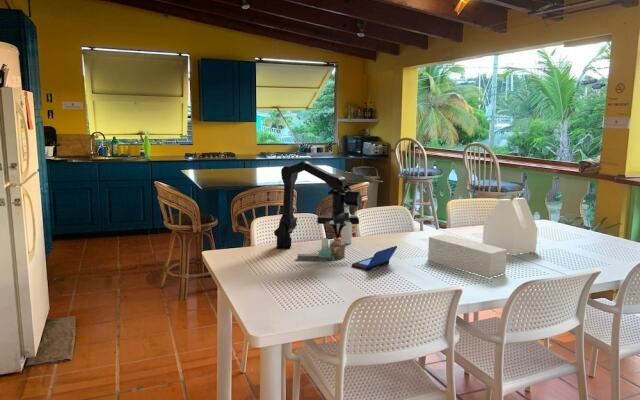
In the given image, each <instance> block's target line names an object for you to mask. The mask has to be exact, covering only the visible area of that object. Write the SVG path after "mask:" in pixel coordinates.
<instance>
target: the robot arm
mask: <svg viewBox="0 0 640 400" xmlns="http://www.w3.org/2000/svg"><path fill="white" fill-rule="evenodd" d="M301 172H307V173H308V174H310V175H312V176H313V177H316V178H317V179H320V180H322V181H324V182H325V183H326V185H327V187H329V188H330V190H329V191H328V192H327V194H328V195H331V217H327V215H317V217H316V223H317V224H319V225H325V224H326V223H329V225H330V226H331V227H332V228H333V232H334V233H335V234H334V235H335V238H339V235H340V233H341V230H342V228H343V227H344V226H346V222H351V223H352V225H359V224H360V218H359V217H358V215H351V216H349V213H345V212H344V209H345V204H346V205H347V206H349V207H359V208H360V207H361V205H362V201H363V198H362V194H361V191H360V190H356V191H355V190H352V189H351V188H350V186H349V184H348V181H347V178H345V177H344V176H342V175H338V174H334V173H330V172H329V171H326V170H325V169H323V168H321V167H319V166H317V165H315V164H314V163H311V162H310V161H308V160H303V161H300V162H298V163H296V164H288V165H285V166H283V167H281V171H280V174H281V179H282V183H283V205H282V214H281V217H280V220H279V224H278V227H277V228H276V229H275V230H274V231H273V234H274V236H275V237H276V249H277V250H279V249H281V250H286V249H287V250H290V249H291V247H292V236H291V234H293V231H294V230H295V229H296V227H297V226H298V223H297V222H298V217H295V216H294V198H295V197H294V196H295V185H296V182H297V180H298V176H299V174H300V173H301ZM337 224H339V226H338V234H337Z"/></svg>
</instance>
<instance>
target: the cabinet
mask: <svg viewBox="0 0 640 400" xmlns="http://www.w3.org/2000/svg"><path fill="white" fill-rule="evenodd" d="M345 247H346V244H344V241H343V240H341V241H340V243H335V241H334V239H330V247H329V248H330V250H331V254H334V259H335V258H336V259H337V258H339V259H340V258H341V259H342V258H345V253H346V252H345Z"/></svg>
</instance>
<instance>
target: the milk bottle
mask: <svg viewBox="0 0 640 400" xmlns="http://www.w3.org/2000/svg"><path fill="white" fill-rule="evenodd" d="M344 212H345V213H349V216H352V215H351V213H350V206H347V205H346V204H345V209H344ZM338 226H339V224H337V234H338ZM352 233H353V224H352V223H351V222H346V226H344V227H343V228H342V230H341V233H340V235H339V238H341V240H343V241H344V244H345V245H349V244H351V243H352V242H353V241H352V239H353V238H352V236H353V234H352Z"/></svg>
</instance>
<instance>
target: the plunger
mask: <svg viewBox="0 0 640 400" xmlns="http://www.w3.org/2000/svg"><path fill="white" fill-rule="evenodd" d="M333 240H334V241H335V243H340V241H341V238H336V237H334V238H333Z"/></svg>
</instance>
